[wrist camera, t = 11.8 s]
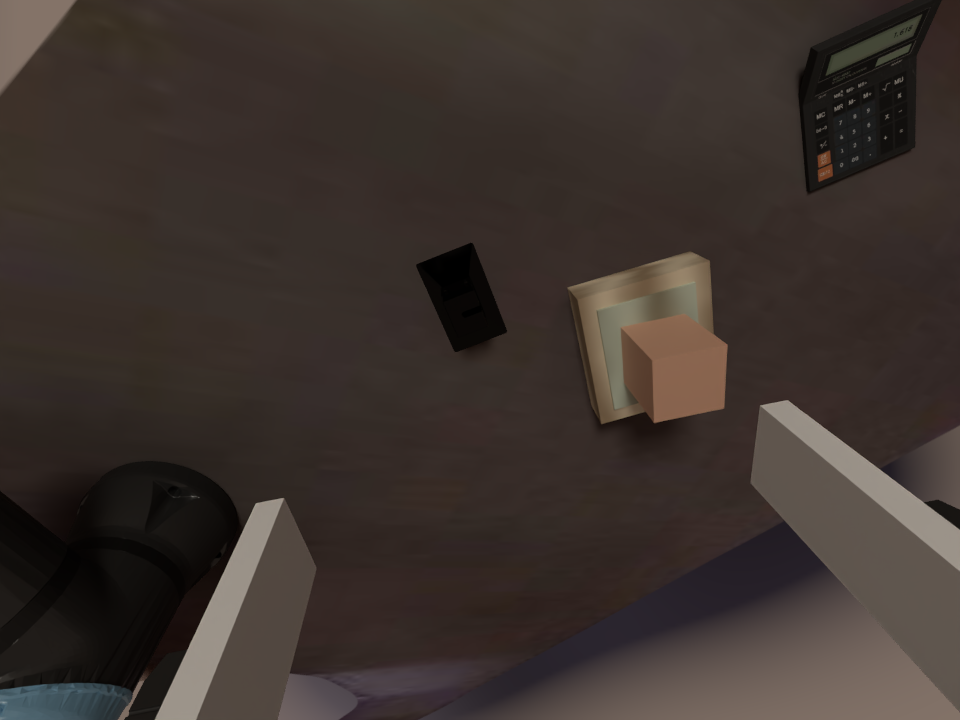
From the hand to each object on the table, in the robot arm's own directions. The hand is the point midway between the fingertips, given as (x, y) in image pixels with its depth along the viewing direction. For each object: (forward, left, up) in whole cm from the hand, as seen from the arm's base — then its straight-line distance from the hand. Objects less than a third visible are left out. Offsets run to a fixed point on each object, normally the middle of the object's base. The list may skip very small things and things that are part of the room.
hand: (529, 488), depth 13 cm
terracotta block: (+15, -13, -29) cm, 35 cm away
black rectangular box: (-1, -5, -33) cm, 34 cm away
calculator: (+35, +5, -33) cm, 48 cm away
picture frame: (+15, -13, -33) cm, 39 cm away
